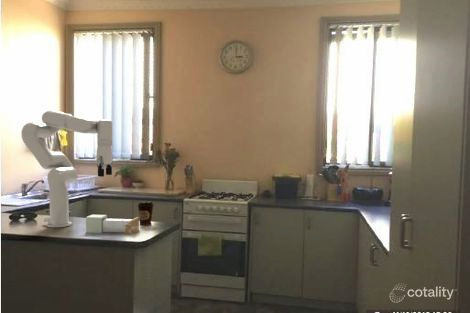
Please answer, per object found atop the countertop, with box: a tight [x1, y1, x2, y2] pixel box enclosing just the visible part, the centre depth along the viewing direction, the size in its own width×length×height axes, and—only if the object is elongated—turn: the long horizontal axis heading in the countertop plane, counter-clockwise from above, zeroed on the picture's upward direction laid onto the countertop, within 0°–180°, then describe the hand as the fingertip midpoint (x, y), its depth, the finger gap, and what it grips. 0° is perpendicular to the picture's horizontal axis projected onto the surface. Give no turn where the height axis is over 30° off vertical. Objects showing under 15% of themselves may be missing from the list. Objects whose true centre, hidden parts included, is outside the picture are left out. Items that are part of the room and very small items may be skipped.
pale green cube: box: [85, 214, 108, 234], centre depth 217 cm, size 8×7×8 cm
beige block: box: [124, 216, 140, 235], centre depth 215 cm, size 4×9×7 cm, turn 173°
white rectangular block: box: [102, 218, 134, 234], centre depth 216 cm, size 17×4×6 cm, turn 83°
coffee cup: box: [137, 200, 154, 227], centre depth 233 cm, size 9×8×13 cm
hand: (105, 175), depth 222 cm, fingers open, 9 cm apart
